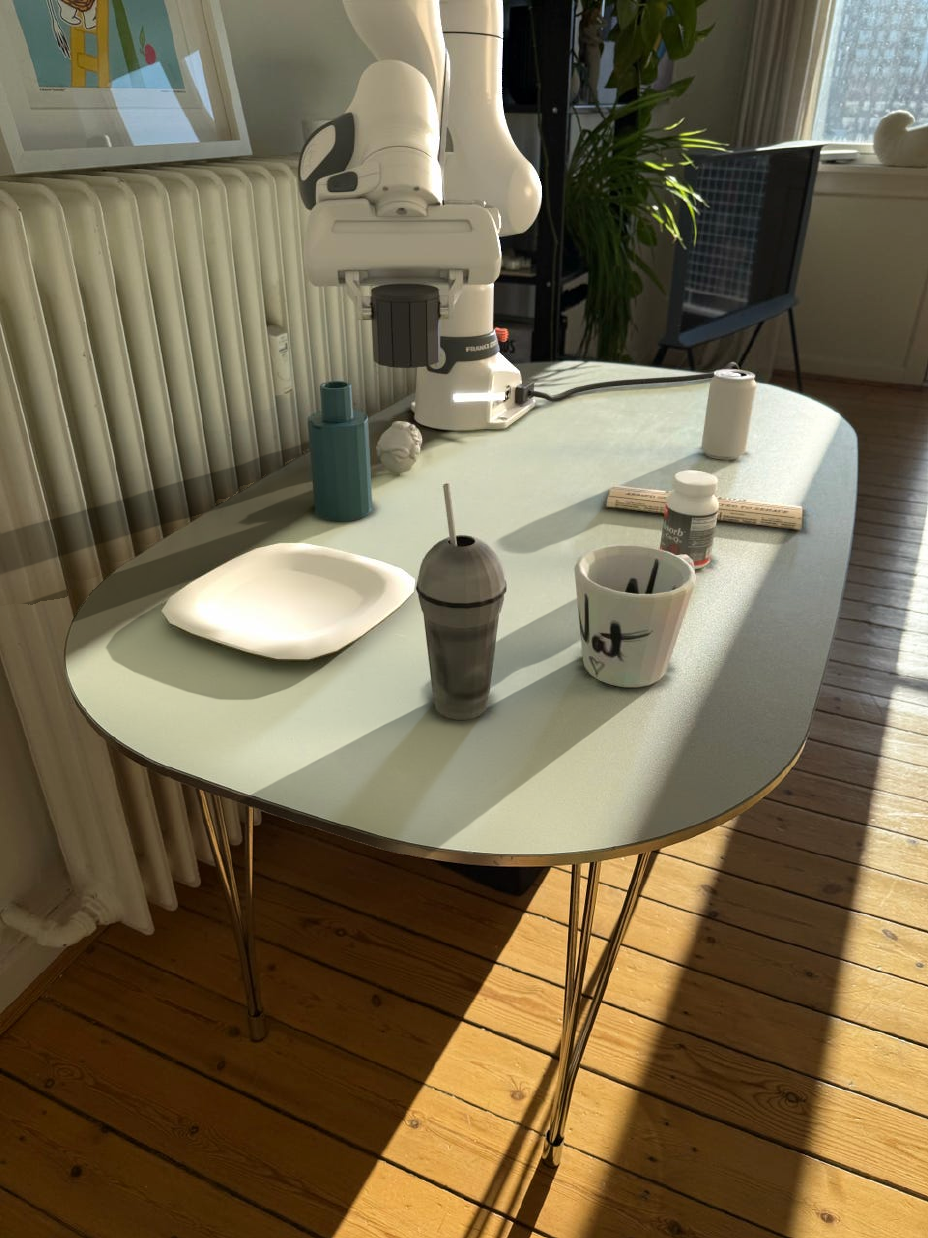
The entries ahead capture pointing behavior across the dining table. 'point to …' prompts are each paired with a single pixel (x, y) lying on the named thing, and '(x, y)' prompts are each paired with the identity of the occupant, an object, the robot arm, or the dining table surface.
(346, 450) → the flask
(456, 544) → the beverage cup
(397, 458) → the cream lumpy ball
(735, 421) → the beverage can
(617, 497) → the newspaper
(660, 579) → the mug
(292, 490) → the dining table surface
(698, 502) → the pill bottle
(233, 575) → the plate
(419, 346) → the flask lid
